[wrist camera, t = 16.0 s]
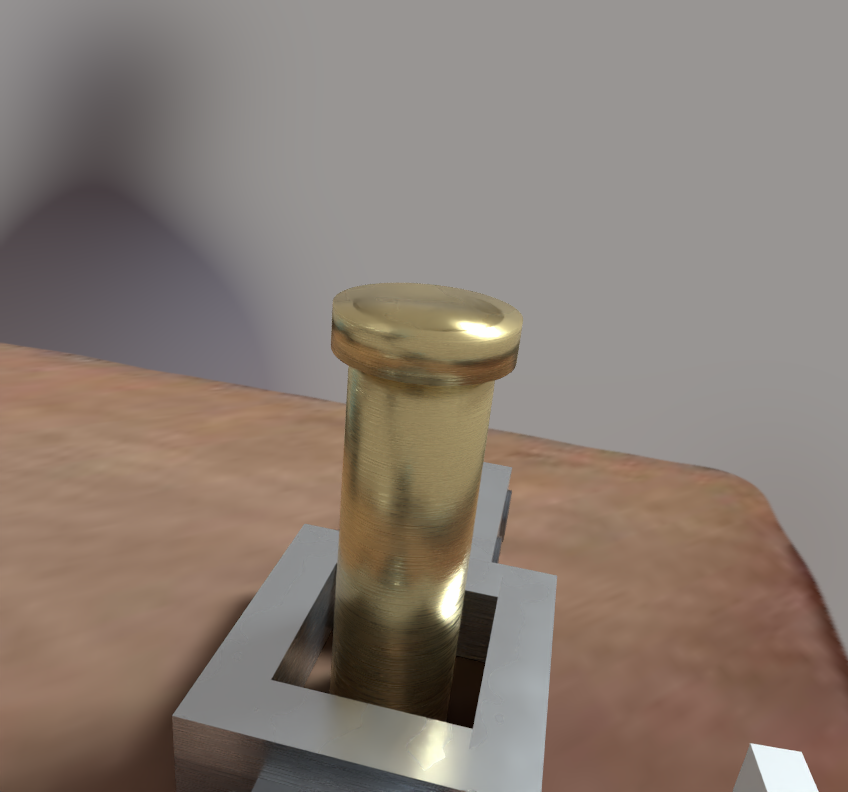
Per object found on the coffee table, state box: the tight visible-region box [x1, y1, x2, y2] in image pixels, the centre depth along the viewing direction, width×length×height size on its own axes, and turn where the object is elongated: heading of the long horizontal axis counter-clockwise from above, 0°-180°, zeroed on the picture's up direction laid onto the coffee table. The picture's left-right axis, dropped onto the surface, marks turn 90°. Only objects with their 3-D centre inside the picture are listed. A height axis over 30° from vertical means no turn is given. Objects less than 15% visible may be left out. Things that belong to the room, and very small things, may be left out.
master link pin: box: [330, 283, 523, 722], centre depth 22 cm, size 5×5×14 cm
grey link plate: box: [172, 462, 557, 792], centre depth 24 cm, size 26×10×3 cm, turn 168°
